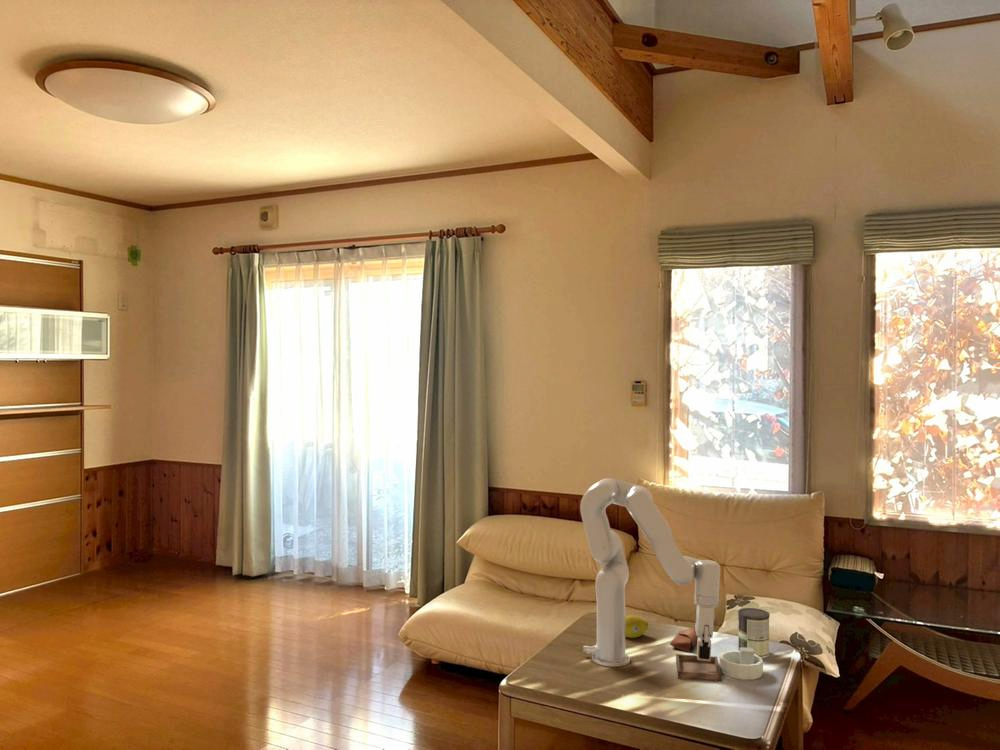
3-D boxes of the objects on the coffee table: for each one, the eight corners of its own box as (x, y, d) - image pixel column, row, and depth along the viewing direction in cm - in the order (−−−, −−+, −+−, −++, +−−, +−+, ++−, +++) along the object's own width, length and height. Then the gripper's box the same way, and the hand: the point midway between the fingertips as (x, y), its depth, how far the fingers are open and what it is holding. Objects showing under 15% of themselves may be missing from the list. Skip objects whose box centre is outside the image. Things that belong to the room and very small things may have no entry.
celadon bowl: (722, 678, 237) (722, 663, 237) (718, 663, 250) (718, 649, 250) (765, 681, 235) (765, 666, 235) (759, 666, 247) (759, 652, 248)
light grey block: (741, 669, 242) (741, 650, 242) (739, 665, 246) (739, 647, 246) (754, 670, 241) (754, 651, 242) (752, 666, 245) (752, 648, 245)
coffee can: (732, 653, 259) (732, 612, 259) (746, 646, 267) (746, 606, 267) (761, 661, 252) (761, 618, 252) (774, 653, 259) (774, 612, 259)
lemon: (617, 640, 272) (617, 618, 272) (618, 633, 280) (618, 611, 280) (648, 642, 270) (648, 620, 270) (648, 635, 278) (648, 613, 278)
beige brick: (697, 659, 242) (698, 641, 242) (696, 655, 245) (697, 637, 245) (710, 661, 241) (711, 642, 241) (709, 657, 245) (710, 638, 245)
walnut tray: (678, 678, 237) (678, 671, 237) (675, 660, 252) (675, 653, 252) (721, 681, 234) (721, 674, 234) (716, 663, 250) (716, 656, 250)
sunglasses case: (678, 629, 279) (689, 617, 277) (693, 643, 277) (705, 631, 275) (668, 644, 262) (680, 631, 261) (684, 659, 260) (696, 646, 259)
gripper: (692, 591, 252) (690, 645, 252) (696, 605, 236) (693, 664, 236) (716, 593, 251) (713, 648, 251) (721, 608, 234) (718, 667, 234)
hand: (703, 655), depth 243 cm, fingers closed on beige brick, 3 cm apart
